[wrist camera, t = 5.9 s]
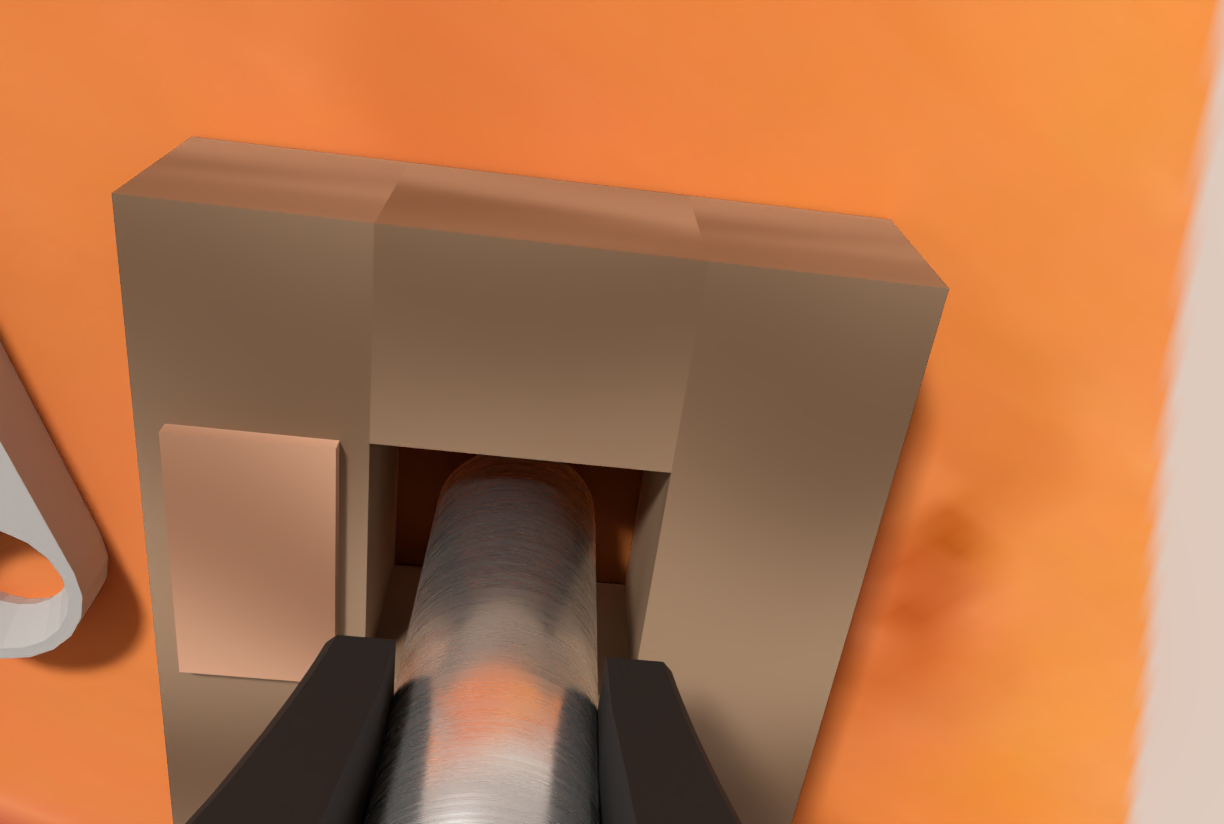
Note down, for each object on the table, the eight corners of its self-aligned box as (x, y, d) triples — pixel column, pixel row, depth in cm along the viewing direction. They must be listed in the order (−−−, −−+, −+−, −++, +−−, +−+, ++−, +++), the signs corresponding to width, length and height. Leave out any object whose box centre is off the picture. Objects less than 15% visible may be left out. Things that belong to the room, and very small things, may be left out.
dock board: (678, 1038, 22) (689, 1182, 20) (244, 1016, 21) (202, 1161, 19) (891, 219, 14) (954, 295, 11) (191, 136, 13) (104, 198, 11)
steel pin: (585, 585, 15) (586, 1220, 8) (433, 572, 15) (296, 1209, 8) (604, 455, 14) (623, 1051, 7) (440, 439, 14) (294, 1034, 7)
